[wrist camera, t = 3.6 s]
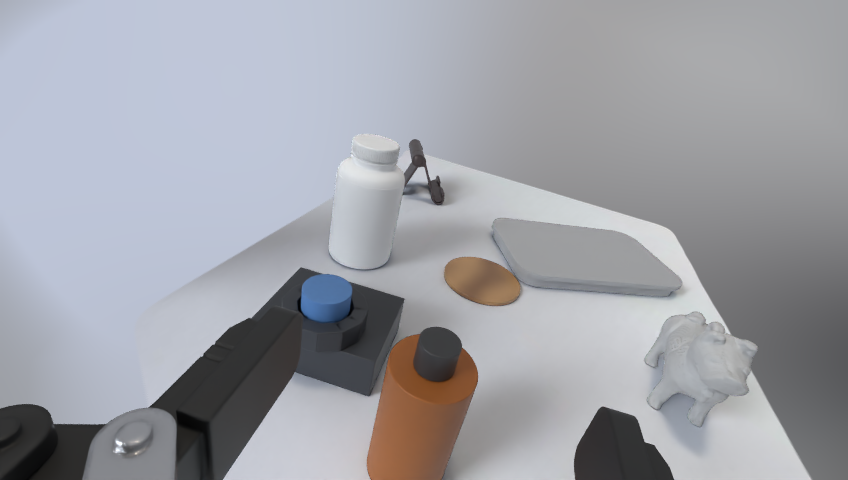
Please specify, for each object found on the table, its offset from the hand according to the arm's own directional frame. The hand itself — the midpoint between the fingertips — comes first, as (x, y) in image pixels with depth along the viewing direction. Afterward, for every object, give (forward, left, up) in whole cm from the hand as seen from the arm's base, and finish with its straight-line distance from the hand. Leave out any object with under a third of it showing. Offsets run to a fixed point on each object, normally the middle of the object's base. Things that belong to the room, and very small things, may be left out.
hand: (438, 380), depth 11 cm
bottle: (0, +11, -20) cm, 23 cm away
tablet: (+17, +51, -20) cm, 57 cm away
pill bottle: (-13, +36, -20) cm, 43 cm away
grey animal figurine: (+24, +27, -20) cm, 41 cm away
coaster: (+3, +38, -20) cm, 43 cm away
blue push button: (-10, +18, -15) cm, 25 cm away
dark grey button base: (-10, +20, -20) cm, 30 cm away
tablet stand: (-11, +61, -20) cm, 65 cm away
